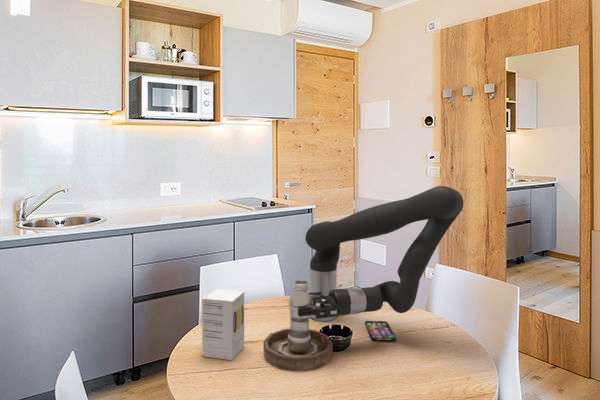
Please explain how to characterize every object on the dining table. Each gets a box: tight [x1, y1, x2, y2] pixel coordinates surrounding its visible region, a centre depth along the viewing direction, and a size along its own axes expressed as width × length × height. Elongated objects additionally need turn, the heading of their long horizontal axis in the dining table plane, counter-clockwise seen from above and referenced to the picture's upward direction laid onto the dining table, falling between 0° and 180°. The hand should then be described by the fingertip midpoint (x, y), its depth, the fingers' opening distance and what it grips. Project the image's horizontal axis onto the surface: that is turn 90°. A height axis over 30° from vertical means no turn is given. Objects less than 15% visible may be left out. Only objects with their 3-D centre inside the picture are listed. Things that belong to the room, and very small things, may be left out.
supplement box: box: [201, 288, 245, 361], centre depth 122 cm, size 10×9×17 cm
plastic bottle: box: [287, 279, 312, 353], centre depth 121 cm, size 6×7×20 cm
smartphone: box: [364, 320, 397, 342], centre depth 138 cm, size 8×1×15 cm
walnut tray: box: [263, 328, 334, 372], centre depth 122 cm, size 19×19×4 cm
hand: (293, 306), depth 120 cm, fingers open, 8 cm apart
